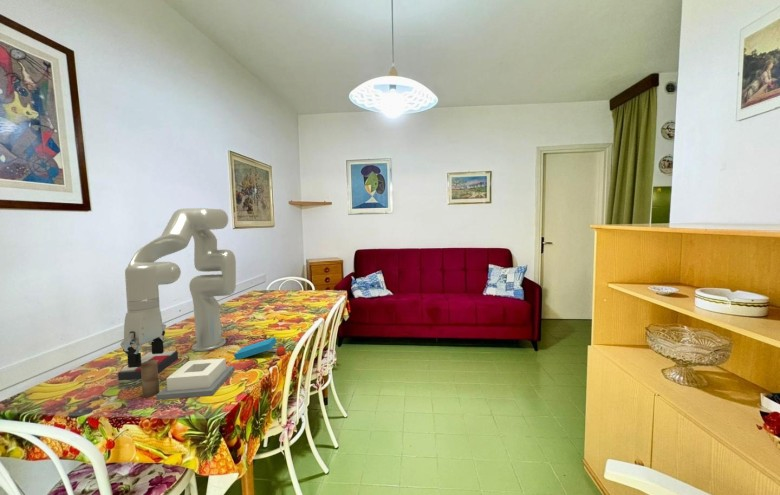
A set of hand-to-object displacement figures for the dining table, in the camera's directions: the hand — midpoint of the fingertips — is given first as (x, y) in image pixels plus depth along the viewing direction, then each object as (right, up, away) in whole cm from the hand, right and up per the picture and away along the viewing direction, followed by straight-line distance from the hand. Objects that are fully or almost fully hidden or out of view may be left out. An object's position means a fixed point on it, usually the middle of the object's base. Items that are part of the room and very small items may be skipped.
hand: (147, 359), depth 89 cm
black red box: (-14, -11, +19) cm, 26 cm away
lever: (+23, -9, +28) cm, 38 cm away
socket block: (+12, -11, +7) cm, 17 cm away
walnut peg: (0, -11, +1) cm, 11 cm away
